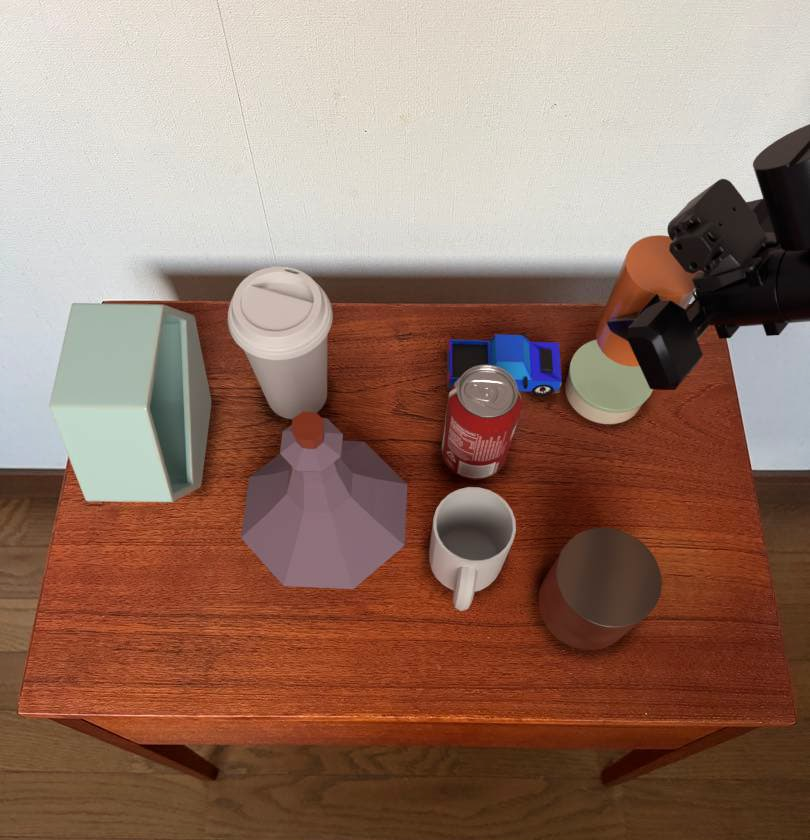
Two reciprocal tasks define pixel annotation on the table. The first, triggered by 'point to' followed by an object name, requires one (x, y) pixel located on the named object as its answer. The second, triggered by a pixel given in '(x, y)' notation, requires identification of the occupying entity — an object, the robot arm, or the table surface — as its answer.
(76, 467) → the planter
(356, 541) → the flask
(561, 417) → the table surface
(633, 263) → the orange cylinder
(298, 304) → the coffee cup
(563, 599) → the metal cylinder
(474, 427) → the soda can
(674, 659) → the table surface
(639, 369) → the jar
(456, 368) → the toy car
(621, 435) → the table surface
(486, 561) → the cup
